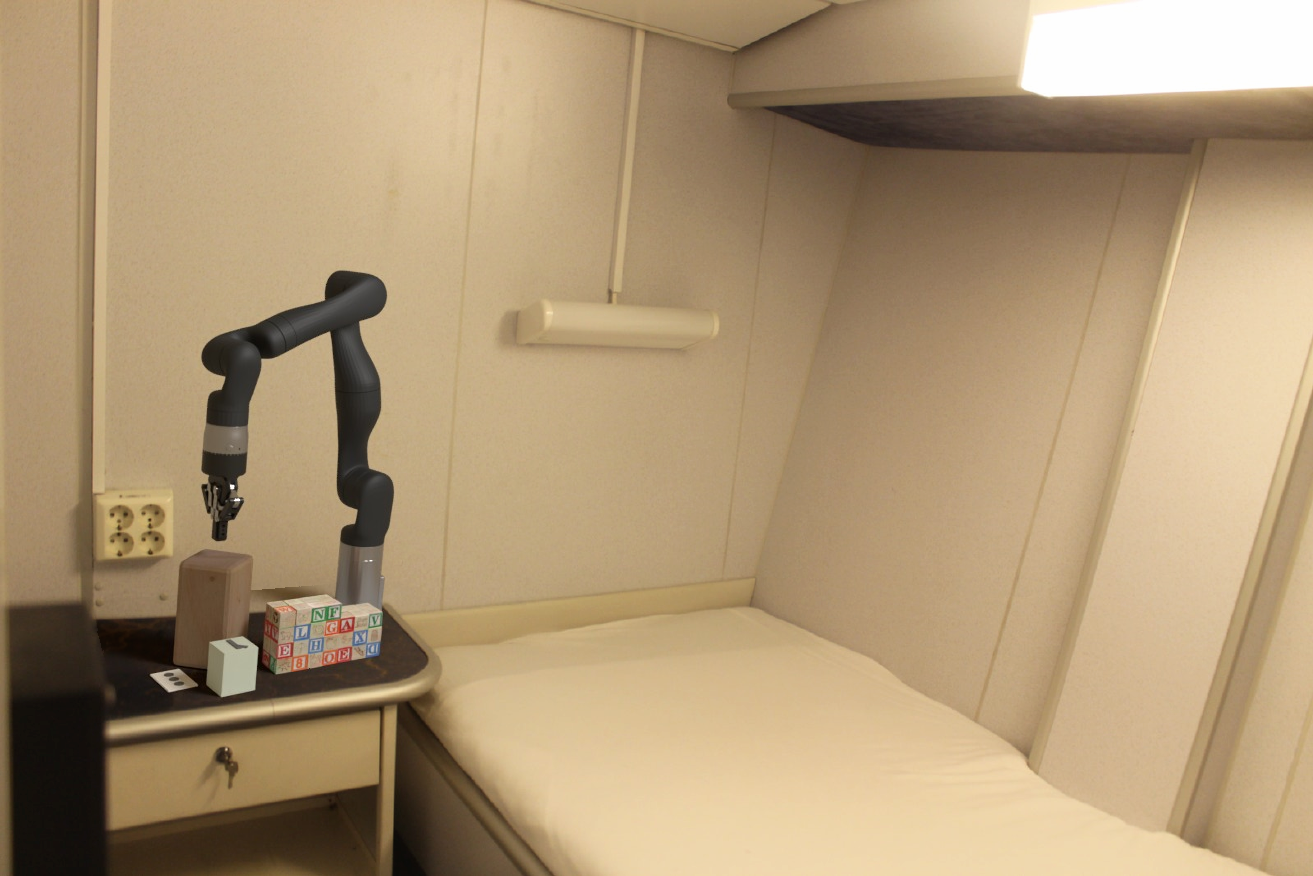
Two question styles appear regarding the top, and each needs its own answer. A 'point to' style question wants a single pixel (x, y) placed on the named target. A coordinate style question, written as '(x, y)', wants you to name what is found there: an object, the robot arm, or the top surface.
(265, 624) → the stack of blocks
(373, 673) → the top surface
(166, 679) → the count card
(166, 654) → the top surface
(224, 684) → the digit block
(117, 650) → the top surface
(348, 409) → the robot arm
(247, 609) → the wooden block
